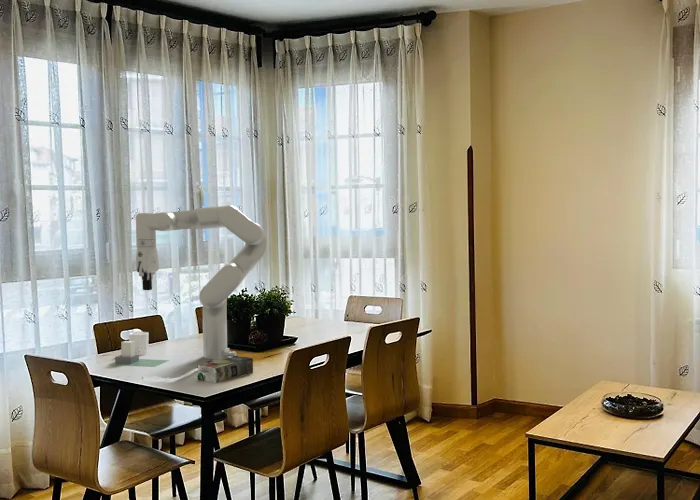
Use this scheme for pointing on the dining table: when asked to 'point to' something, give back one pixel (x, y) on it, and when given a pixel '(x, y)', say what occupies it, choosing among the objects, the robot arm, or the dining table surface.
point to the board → (136, 361)
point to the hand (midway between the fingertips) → (147, 289)
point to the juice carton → (225, 369)
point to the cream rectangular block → (127, 348)
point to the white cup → (140, 342)
